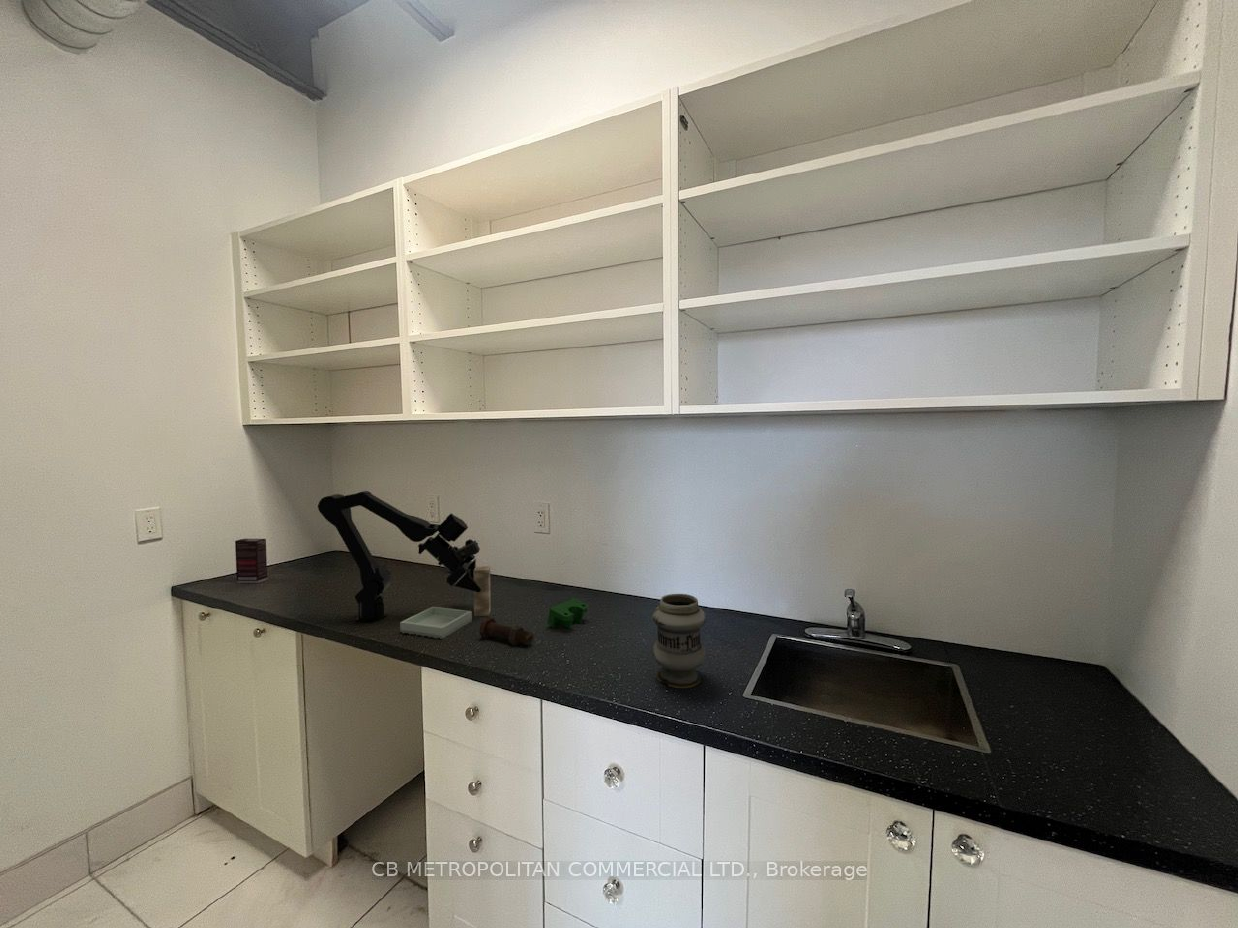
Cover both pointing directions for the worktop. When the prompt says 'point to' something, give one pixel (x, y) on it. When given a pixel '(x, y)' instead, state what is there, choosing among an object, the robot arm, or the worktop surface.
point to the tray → (436, 622)
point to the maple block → (482, 591)
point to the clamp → (567, 613)
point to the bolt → (505, 632)
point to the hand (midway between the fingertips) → (482, 586)
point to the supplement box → (251, 560)
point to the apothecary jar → (679, 640)
